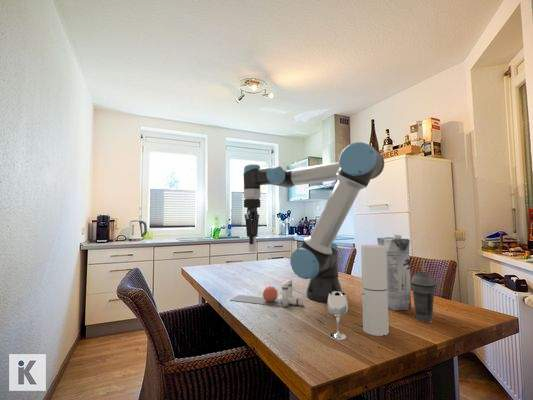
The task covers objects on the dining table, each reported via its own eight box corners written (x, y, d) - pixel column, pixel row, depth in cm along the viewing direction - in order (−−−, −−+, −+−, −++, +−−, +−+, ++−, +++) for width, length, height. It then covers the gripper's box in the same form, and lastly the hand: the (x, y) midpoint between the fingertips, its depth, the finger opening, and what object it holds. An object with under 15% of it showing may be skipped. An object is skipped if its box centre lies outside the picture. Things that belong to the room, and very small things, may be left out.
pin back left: (289, 305, 106) (289, 282, 107) (287, 307, 104) (287, 284, 104) (283, 304, 107) (283, 282, 108) (281, 306, 105) (281, 283, 105)
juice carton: (394, 312, 98) (391, 235, 100) (376, 303, 108) (374, 234, 110) (415, 310, 100) (413, 235, 102) (395, 301, 110) (393, 233, 112)
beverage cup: (430, 316, 94) (428, 256, 96) (441, 324, 87) (439, 260, 88) (408, 315, 95) (406, 256, 96) (417, 323, 88) (415, 259, 89)
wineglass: (325, 332, 81) (324, 291, 82) (344, 331, 82) (343, 290, 82) (331, 341, 76) (330, 296, 76) (351, 340, 76) (351, 296, 77)
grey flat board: (292, 301, 111) (292, 300, 111) (286, 307, 104) (286, 306, 104) (238, 295, 120) (238, 294, 120) (230, 300, 112) (230, 300, 112)
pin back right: (292, 301, 111) (292, 280, 112) (291, 303, 109) (291, 281, 109) (286, 300, 112) (286, 279, 112) (285, 302, 110) (284, 280, 110)
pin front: (282, 302, 110) (303, 304, 107) (280, 304, 108) (301, 306, 105) (282, 296, 110) (303, 298, 107) (280, 297, 108) (301, 299, 105)
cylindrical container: (377, 337, 78) (374, 247, 79) (357, 328, 84) (356, 245, 86) (394, 332, 81) (391, 246, 82) (374, 324, 87) (372, 244, 89)
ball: (273, 281, 114) (263, 291, 115) (268, 285, 108) (257, 294, 109) (282, 293, 112) (272, 302, 113) (278, 297, 106) (267, 307, 108)
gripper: (249, 200, 133) (249, 249, 131) (238, 198, 120) (238, 253, 119) (264, 199, 131) (264, 250, 129) (254, 197, 118) (255, 253, 117)
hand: (252, 251), depth 124 cm, fingers closed
